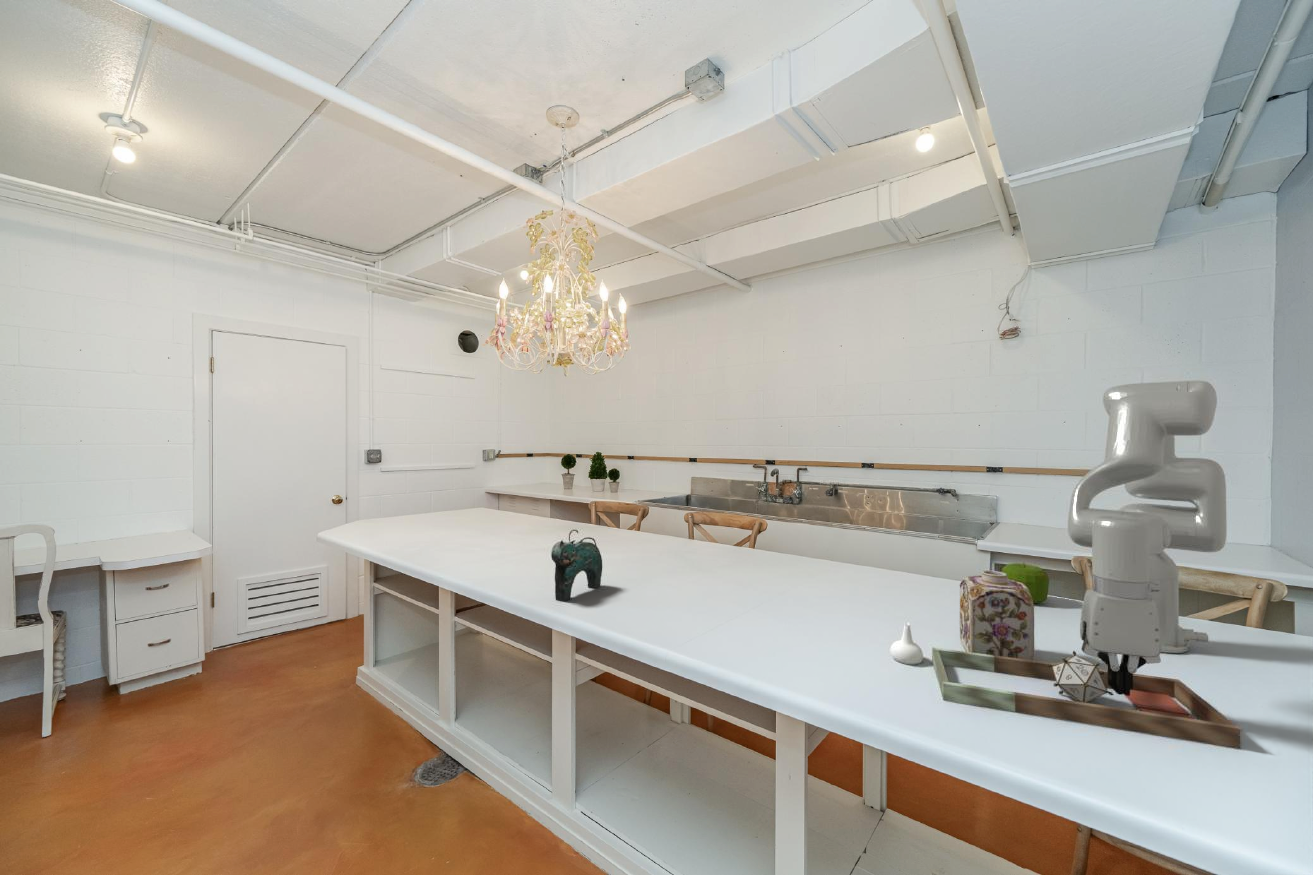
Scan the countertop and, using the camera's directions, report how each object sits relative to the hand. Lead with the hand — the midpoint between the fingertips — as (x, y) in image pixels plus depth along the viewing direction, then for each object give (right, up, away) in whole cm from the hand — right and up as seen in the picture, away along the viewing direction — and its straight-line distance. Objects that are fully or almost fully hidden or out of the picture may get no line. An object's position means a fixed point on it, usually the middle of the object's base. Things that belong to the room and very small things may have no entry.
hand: (1120, 691), depth 91 cm
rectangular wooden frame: (-8, -3, +3) cm, 9 cm away
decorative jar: (-8, -3, +22) cm, 23 cm away
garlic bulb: (-28, -3, +20) cm, 34 cm away
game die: (-5, -3, +2) cm, 7 cm away
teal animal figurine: (-106, -3, +68) cm, 126 cm away
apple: (+24, -2, +57) cm, 62 cm away
